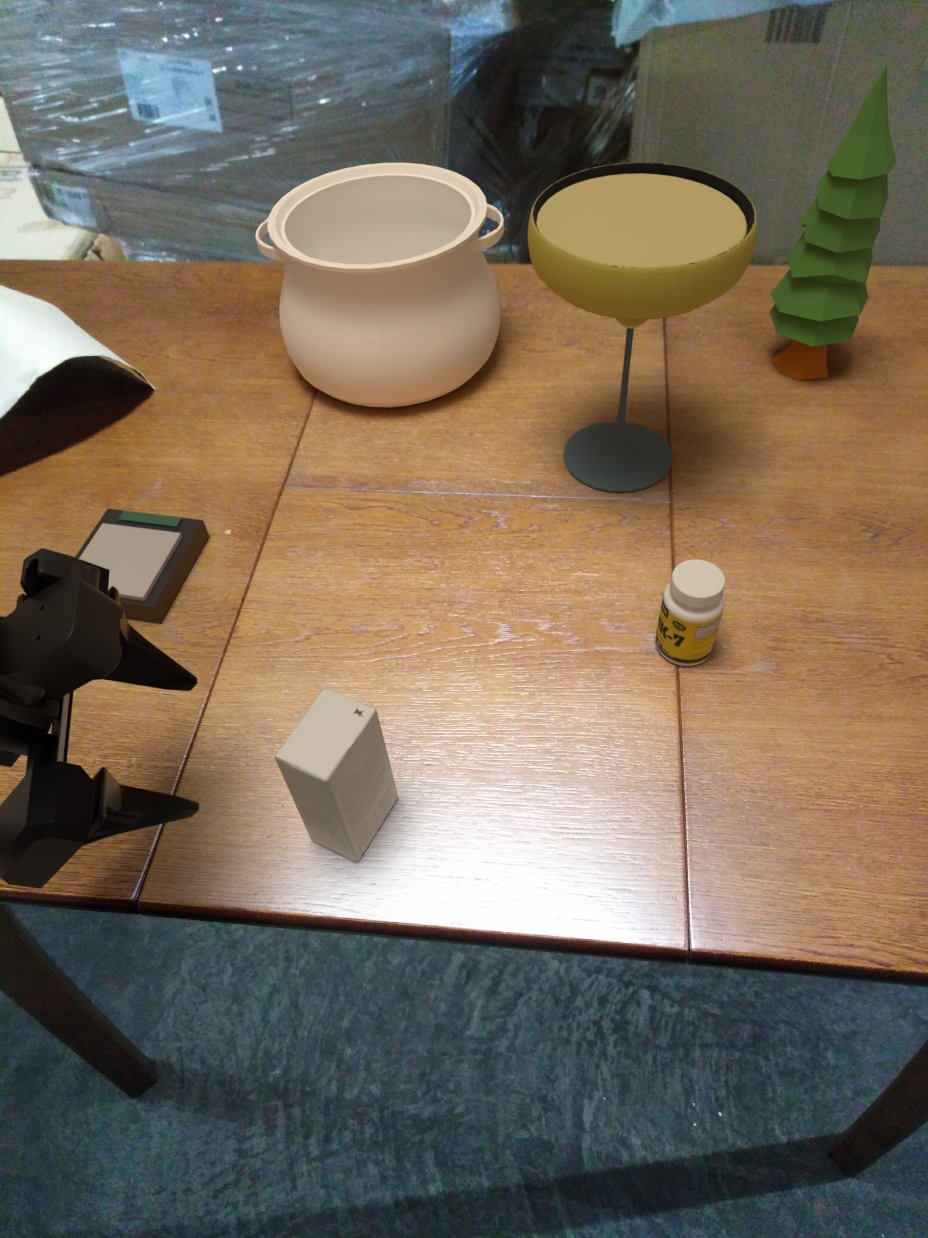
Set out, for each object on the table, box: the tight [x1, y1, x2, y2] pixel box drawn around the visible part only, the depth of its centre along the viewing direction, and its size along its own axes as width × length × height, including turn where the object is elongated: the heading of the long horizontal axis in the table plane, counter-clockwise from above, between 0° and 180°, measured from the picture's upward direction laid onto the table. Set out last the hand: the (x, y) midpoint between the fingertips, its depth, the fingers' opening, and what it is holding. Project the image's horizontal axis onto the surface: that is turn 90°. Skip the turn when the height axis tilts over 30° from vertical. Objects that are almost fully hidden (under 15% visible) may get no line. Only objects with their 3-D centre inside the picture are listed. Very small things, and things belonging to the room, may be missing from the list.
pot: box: [254, 162, 505, 408], centre depth 97 cm, size 26×24×17 cm
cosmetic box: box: [274, 687, 399, 863], centre depth 61 cm, size 6×4×12 cm
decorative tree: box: [769, 64, 897, 381], centre depth 87 cm, size 10×9×30 cm
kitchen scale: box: [74, 508, 210, 624], centre depth 82 cm, size 10×11×3 cm
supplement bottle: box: [654, 558, 726, 667], centre depth 71 cm, size 5×5×8 cm
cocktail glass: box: [527, 161, 758, 493], centre depth 80 cm, size 18×18×25 cm
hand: (195, 744), depth 55 cm, fingers open, 9 cm apart
